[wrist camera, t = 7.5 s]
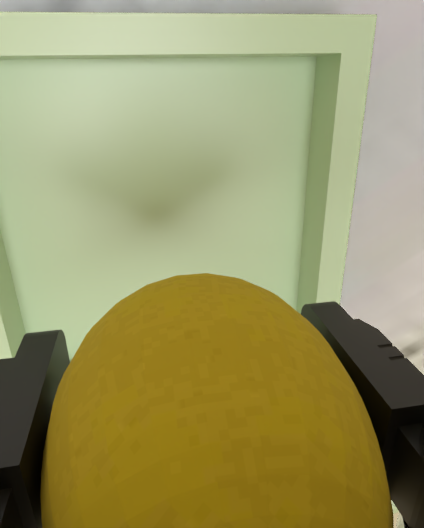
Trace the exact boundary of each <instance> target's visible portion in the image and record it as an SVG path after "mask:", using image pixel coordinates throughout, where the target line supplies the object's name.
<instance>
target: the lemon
mask: <svg viewBox="0 0 424 528" xmlns="http://www.w3.org/2000/svg"><path fill="white" fill-rule="evenodd" d="M40 497H41V519H42V528H393V510H392V504H391V498H390V491H389V486H388V481H387V476H386V471H385V466H384V462H383V458H382V454H381V451H380V447H379V443H378V440H377V437H376V434H375V431H374V428H373V425H372V422H371V419H370V417H369V414H368V412H367V410H366V407H365V405H364V402H363V400H362V398H361V396H360V394H359V392H358V390H357V388H356V386H355V384H354V382H353V381H352V379H351V378H350V376H349V374H348V373H347V371H346V370H345V368H344V366H343V365H342V363H341V362H340V360H339V359H338V357H337V356H336V354H335V353H334V351H333V349H332V348H331V346H330V345H329V343H328V342H327V341H326V339H325V338H324V337H323V336H322V334H321V333H320V332H319V331H318V330H317V329H316V328H315V327H314V326H313V325H312V324H311V323H310V322H309V321H308V320H307V319H306V318H305V317H303V316H302V315H301V314H300V313H298V312H297V311H296V310H295V309H294V308H292V307H291V306H290V305H289V304H287V303H286V302H285V301H284V300H283V299H281V298H280V297H279V296H278V295H276V294H274V293H272V292H270V291H269V290H266V289H264V288H262V287H259V286H257V285H254V284H252V283H250V282H247V281H245V280H243V279H239V278H236V277H229V276H223V275H216V274H209V273H202V274H189V275H176V276H173V277H170V278H167V279H163V280H160V281H157V282H154V283H151V284H147V285H146V286H144V287H142V288H141V289H139V290H137V291H135V292H134V293H132V294H130V295H129V296H127V297H125V298H124V299H122V300H120V301H119V302H118V303H116V304H115V305H114V306H113V307H112V308H111V309H110V310H109V311H108V312H107V313H106V314H105V315H104V316H103V317H102V318H101V319H100V320H99V321H98V322H97V323H96V324H95V325H94V326H93V327H92V328H91V329H90V331H89V332H88V333H87V334H86V336H85V338H84V339H83V341H82V343H81V344H80V346H79V348H78V350H77V351H76V353H75V355H74V357H73V358H72V360H71V362H70V364H69V365H68V367H67V369H66V371H65V372H64V374H63V377H62V379H61V381H60V384H59V386H58V388H57V392H56V395H55V398H54V402H53V406H52V411H51V416H50V421H49V426H48V430H47V435H46V441H45V446H44V451H43V459H42V469H41V496H40Z"/></svg>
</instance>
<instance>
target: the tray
mask: <svg viewBox="0 0 424 528" xmlns="http://www.w3.org/2000/svg"><path fill="white" fill-rule="evenodd" d="M376 19H377V15H368V14H233V13H98V12H0V359H6V358H15V355H16V353H17V351H18V348H19V346H20V344H21V341H22V339H23V337H24V335H25V334H26V333H32V332H42V331H51V330H60V329H61V330H62V331H63V332H64V335H65V339H66V344H67V349H68V354H69V360H70V362H71V360H72V358H73V357H74V355H75V353H76V351H77V350H78V348H79V346H80V344H81V343H82V341H83V339H84V338H85V336H86V334H87V333H88V332H89V331H90V329H91V328H92V327H93V326H94V325H95V324H96V323H97V322H98V321H99V320H100V319H101V318H102V317H103V316H104V315H105V314H106V313H107V312H108V311H109V310H110V309H111V308H112V307H113V306H114V305H115V304H116V303H118V302H119V301H120V300H122V299H124V298H125V297H127V296H129V295H130V294H132V293H134V292H135V291H137V290H139V289H141V288H142V287H144V286H146V285H147V284H151V283H154V282H157V281H160V280H163V279H167V278H170V277H173V276H176V275H189V274H202V273H209V274H216V275H223V276H229V277H236V278H239V279H243V280H245V281H247V282H250V283H252V284H254V285H257V286H259V287H262V288H264V289H266V290H269V291H270V292H272V293H274V294H276V295H278V296H279V297H280V298H281V299H283V300H284V301H285V302H286V303H287V304H289V305H290V306H291V307H292V308H294V309H295V310H296V311H297V312H298V313H300V314H301V310H302V307H303V306H304V305H305V304H312V303H322V302H331V301H335V302H337V303H338V304H339V305H340V299H341V291H342V283H343V275H344V268H345V260H346V252H347V244H348V237H349V229H350V221H351V213H352V206H353V198H354V190H355V182H356V175H357V167H358V159H359V151H360V144H361V136H362V128H363V120H364V112H365V105H366V97H367V89H368V81H369V74H370V66H371V58H372V50H373V43H374V35H375V27H376Z"/></svg>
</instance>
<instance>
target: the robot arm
mask: <svg viewBox="0 0 424 528" xmlns="http://www.w3.org/2000/svg"><path fill="white" fill-rule="evenodd" d="M301 315H302V316H303V317H305V318H306V319H307V320H308V321H309V322H310V323H311V324H312V325H313V326H314V327H315V328H316V329H317V330H318V331H319V332H320V333H321V334H322V336H323V337H324V338H325V339H326V341H327V342H328V343H329V345H330V346H331V348H332V349H333V351H334V353H335V354H336V356H337V357H338V359H339V360H340V362H341V363H342V365H343V366H344V368H345V370H346V371H347V373H348V374H349V376H350V378H351V379H352V381H353V382H354V384H355V386H356V388H357V390H358V392H359V394H360V396H361V398H362V400H363V402H364V405H365V407H366V410H367V412H368V414H369V417H370V419H371V422H372V425H373V428H374V431H375V434H376V437H377V440H378V443H379V447H380V451H381V454H382V458H383V462H384V466H385V471H386V476H387V481H388V486H389V491H390V498H391V500H392V501H393V502H394V504H395V506H396V507H397V509H398V510H399V515H398V518H397V525H396V526H397V528H424V375H423V374H422V373H421V372H420V371H419V370H418V369H417V368H416V367H415V366H414V365H413V364H412V363H411V362H410V361H409V360H408V359H407V358H404V355H403V354H402V353H401V352H400V351H399V350H398V349H397V348H396V347H395V346H394V347H393V346H392V343H391V342H390V341H389V340H388V339H387V338H386V337H385V336H384V335H383V334H382V333H381V332H380V331H379V330H378V329H376V328H374V327H372V326H371V325H369V324H367V323H365V322H363V321H362V320H360V319H354V320H353V319H352V318H351V317H350V316H349V315H348V314H347V312H346V311H345V310H344V309H343V308H342V307H341V306H340V305H339V304H338V303H337V302H335V301H331V302H322V303H312V304H305V305H304V306H303V307H302V310H301ZM69 364H70V360H69V354H68V349H67V344H66V339H65V335H64V332H63V331H62V330H61V329H60V330H51V331H42V332H32V333H26V334H25V335H24V337H23V339H22V341H21V344H20V346H19V348H18V351H17V353H16V355H15V358H6V359H0V528H42V519H41V497H40V496H41V469H42V459H43V451H44V446H45V441H46V435H47V430H48V426H49V421H50V416H51V411H52V406H53V402H54V398H55V395H56V392H57V388H58V386H59V384H60V381H61V379H62V377H63V374H64V372H65V371H66V369H67V367H68V365H69Z"/></svg>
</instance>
